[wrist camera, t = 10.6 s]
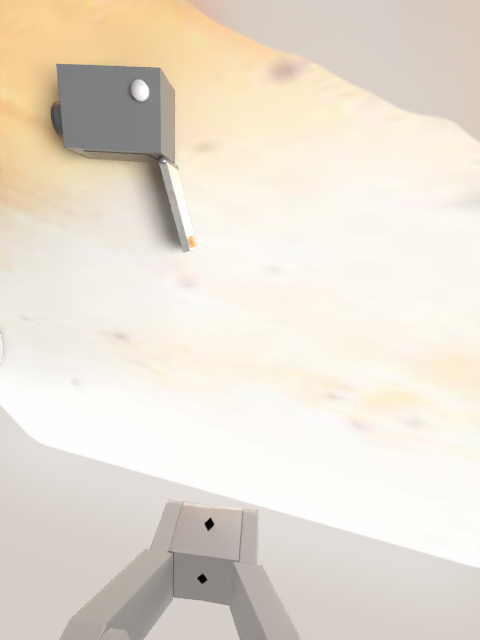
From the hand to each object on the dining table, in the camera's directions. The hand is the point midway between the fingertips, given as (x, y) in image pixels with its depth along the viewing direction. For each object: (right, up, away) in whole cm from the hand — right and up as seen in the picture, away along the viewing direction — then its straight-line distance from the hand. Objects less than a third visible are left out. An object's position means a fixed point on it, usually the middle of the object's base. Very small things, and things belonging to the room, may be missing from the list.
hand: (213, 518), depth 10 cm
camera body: (-11, +28, +23) cm, 38 cm away
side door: (-6, +20, +25) cm, 32 cm away
